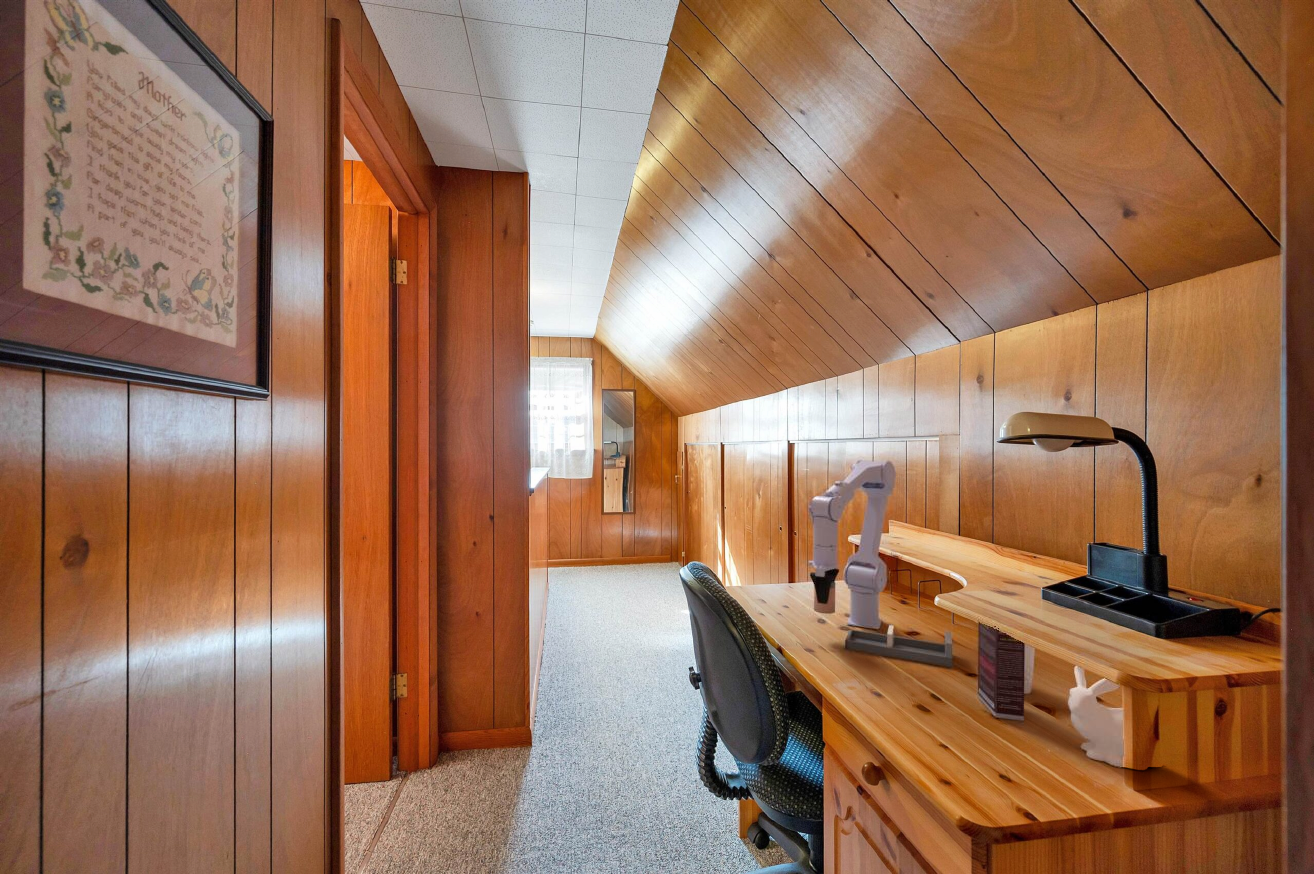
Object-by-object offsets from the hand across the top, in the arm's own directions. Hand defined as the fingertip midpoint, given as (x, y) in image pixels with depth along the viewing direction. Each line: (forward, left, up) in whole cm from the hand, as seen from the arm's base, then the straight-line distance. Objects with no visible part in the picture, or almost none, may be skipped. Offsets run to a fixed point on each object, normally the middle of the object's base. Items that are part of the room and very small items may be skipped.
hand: (824, 600), depth 133 cm
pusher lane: (0, +16, -9) cm, 19 cm away
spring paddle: (0, +15, -9) cm, 17 cm away
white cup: (+10, +37, -10) cm, 40 cm away
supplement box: (+22, +34, -10) cm, 42 cm away
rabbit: (+32, +47, -10) cm, 58 cm away
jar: (0, 0, -2) cm, 2 cm away
